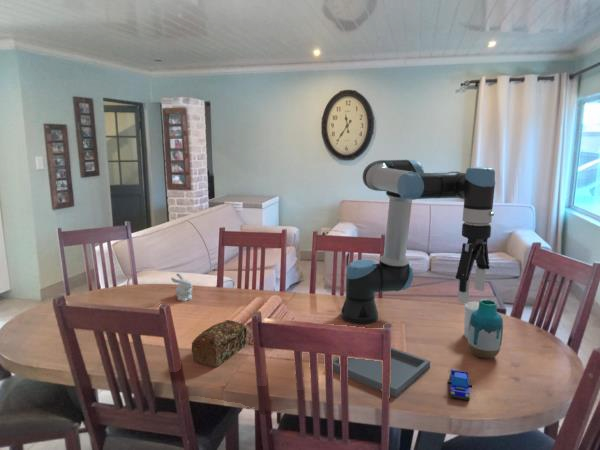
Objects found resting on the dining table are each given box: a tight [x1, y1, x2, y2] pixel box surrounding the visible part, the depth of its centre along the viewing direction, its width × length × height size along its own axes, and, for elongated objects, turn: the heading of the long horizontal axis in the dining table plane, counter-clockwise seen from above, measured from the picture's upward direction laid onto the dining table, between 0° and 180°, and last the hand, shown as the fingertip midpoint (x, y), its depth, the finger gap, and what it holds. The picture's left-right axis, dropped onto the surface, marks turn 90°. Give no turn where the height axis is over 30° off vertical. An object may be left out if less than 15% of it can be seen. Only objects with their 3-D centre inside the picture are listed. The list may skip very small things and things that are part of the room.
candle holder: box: [463, 301, 479, 339], centre depth 165 cm, size 10×10×12 cm
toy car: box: [447, 369, 473, 401], centre depth 131 cm, size 7×12×5 cm, turn 162°
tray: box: [332, 347, 431, 398], centre depth 142 cm, size 24×22×2 cm
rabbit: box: [171, 273, 193, 302], centre depth 203 cm, size 12×9×12 cm
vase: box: [467, 299, 504, 359], centre depth 150 cm, size 11×11×19 cm
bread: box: [190, 319, 248, 368], centre depth 151 cm, size 19×11×10 cm, turn 154°
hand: (471, 296), depth 128 cm, fingers open, 13 cm apart
